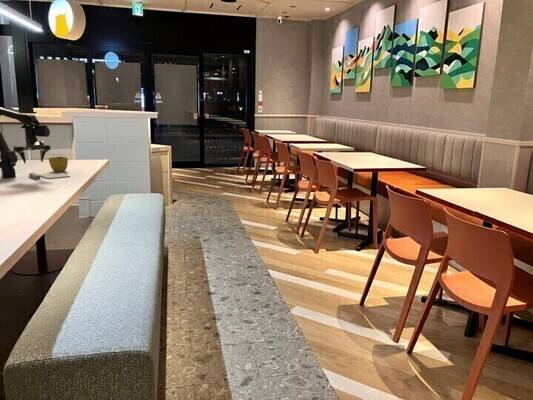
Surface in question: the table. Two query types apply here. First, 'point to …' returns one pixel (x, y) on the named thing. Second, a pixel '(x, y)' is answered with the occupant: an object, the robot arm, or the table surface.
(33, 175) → the block
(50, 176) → the slate board
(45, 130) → the robot arm
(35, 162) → the table surface
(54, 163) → the flower pot
